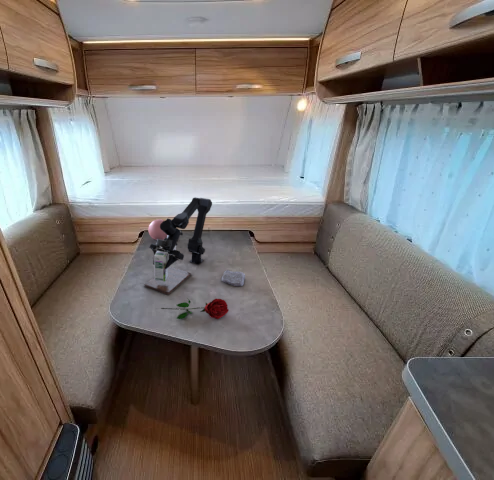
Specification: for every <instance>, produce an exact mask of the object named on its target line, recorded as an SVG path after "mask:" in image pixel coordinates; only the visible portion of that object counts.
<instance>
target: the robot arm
mask: <svg viewBox="0 0 494 480" xmlns="http://www.w3.org/2000/svg"><path fill="white" fill-rule="evenodd" d="M212 206H213V202H212V200H211V199H210V198H205V197H196V196H194V197H192V199H191V201H190V202H189V204H187V206H186V207H185V209H184V210H183V211H181V213H178V214H176V215H175V216H174V217H173V218H172V219H171V218H166V219H165V220H164V221H163V222H162V223H161V224H160V229H161V230H162V231H163V232H164V233H165V234H167V235H168V236H167V238H164V240H161V239H157V240H156V243H153V242H151V243H150V245H149V247H148V248H149V249H151V251H152V252H153V256H154V255H155V254H156V252H157V251H163V252H168V261H167V263H166V266H165V269H167V268H168V267H171V266H172V265H173V264H174V263H176V262H177V261H180V260H181V261H183V260H184V258H185V255H184V253H182V252H181V251H180V250H177V249H176V247H177V246H178V241H179V239H180V236H183V235H184V234H183V230H185V229H186V228H187V227H188V225H189V224H190V218H191V217H192V216H193V214H195V212H196V211H197V217H196V221H195V225H194V229H193V235H192V237H191V238H189V239H188V242H187V250H188V253H191V259H190V260H189V263H191V264H195V265H201V263H202V262H204V259H203V258H202V255H204V254H205V252H206V248H205V247H204V246H203V243H204V242H203V240H202V237H203V236H202V235H203V232H204V231H203V230H204V226H205V222H206V218H207V214H208V213H209V212H211V208H212ZM175 245H176V247H175ZM161 247H162V248H161ZM174 248H175V249H176V250H174ZM152 265H153V266H154V259H153V261H152Z"/></svg>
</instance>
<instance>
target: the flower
mask: <svg viewBox="0 0 494 480" xmlns="http://www.w3.org/2000/svg"><path fill="white" fill-rule="evenodd" d="M186 299H187V300H188V301H187V302H186V301H184V302H179V303H177V304H176V306H177V307H178V308H181V309H182V310H183V311H184V312H182V313H180V314H179V315H178V316H177V317H176V318H175V319H176V320H183V319H185V318H187V317H188V314H193V312H191V311H190V310H197V309H199V307H193V308H191V307H190V305H191V300H190V299H189V298H188V297H186ZM189 307H190V309H189ZM178 308H175V310H178ZM160 309H161V310H173V307H172V308H170V307H169V308H168V307H161V308H160ZM229 311H230V310H229V308H228V304H227V302H226V300H224V299H223V298H214V299H212V300H211V301H209V302H208V303H207V302H205V306H204V307H203V308H202V310H200V311H199V312H200V313H207V315H208V316H209V317H210V318H211V319H217V320H219V319H221V318H222V317H224V316H226V315H227V313H228V312H229Z"/></svg>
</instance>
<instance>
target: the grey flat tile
mask: <svg viewBox="0 0 494 480" xmlns="http://www.w3.org/2000/svg"><path fill="white" fill-rule="evenodd" d="M191 276H192V273H191V272H189V271H186V270H182V269H179V268H175V267H172V266H169V267H168V276H167V278H166V281H165V282H164V281H158V280H155V276H153V277H152V278H151V279H149V280H148V281H147V282H145V283H144V287H145V288H147V289H149V290H153V291H156V292H159V293H162V294H164V295H167V296H169V295H171V294H172V293H173V292H174V291H175V290H176V289H177V288H178V287H180V285H182V284H183V283H184V282H186V280H187V279H189V277H191Z"/></svg>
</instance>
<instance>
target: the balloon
mask: <svg viewBox="0 0 494 480" xmlns="http://www.w3.org/2000/svg"><path fill="white" fill-rule="evenodd" d="M163 221H165V220H164V219H161V218H157V219H154V220H152V221H151V222H150V224H149V225H148V229H147V230H148V234H149V236H150V238H151V239H153V240H155V241H157V239H161V240H164V238H167V236H168V235H167V234H165V233H164V232H163V231H162V230H161V229H160V224H161V223H162V222H163Z"/></svg>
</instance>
